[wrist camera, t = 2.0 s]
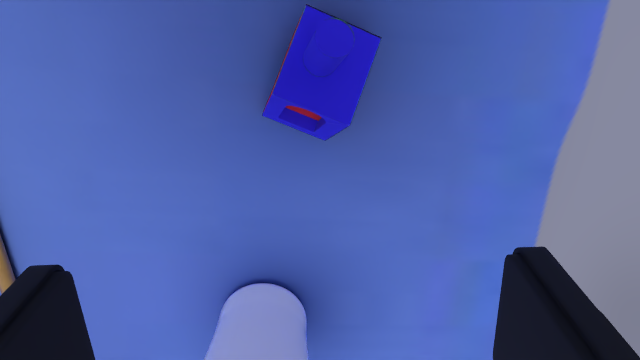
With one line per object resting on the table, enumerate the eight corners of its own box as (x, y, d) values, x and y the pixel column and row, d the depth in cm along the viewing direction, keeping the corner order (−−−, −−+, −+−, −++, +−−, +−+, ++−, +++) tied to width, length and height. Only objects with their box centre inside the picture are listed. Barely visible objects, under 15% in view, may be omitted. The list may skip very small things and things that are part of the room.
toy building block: (351, 69, 27) (404, 13, 19) (324, 141, 26) (368, 115, 18) (289, 42, 26) (318, -26, 18) (261, 116, 26) (279, 78, 18)
